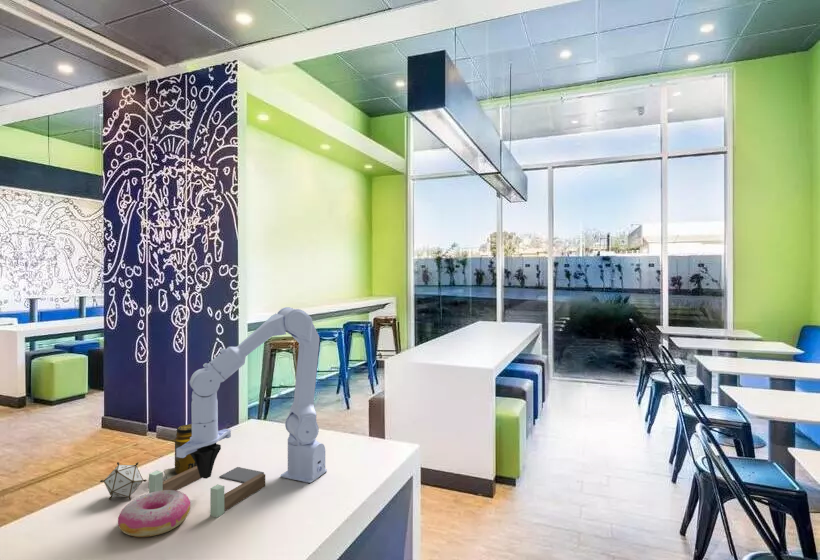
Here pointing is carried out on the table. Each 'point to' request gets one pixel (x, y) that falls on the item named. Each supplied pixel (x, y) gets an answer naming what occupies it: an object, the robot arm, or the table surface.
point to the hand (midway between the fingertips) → (205, 476)
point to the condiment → (188, 461)
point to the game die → (123, 481)
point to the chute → (217, 496)
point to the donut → (154, 513)
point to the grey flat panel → (240, 474)
